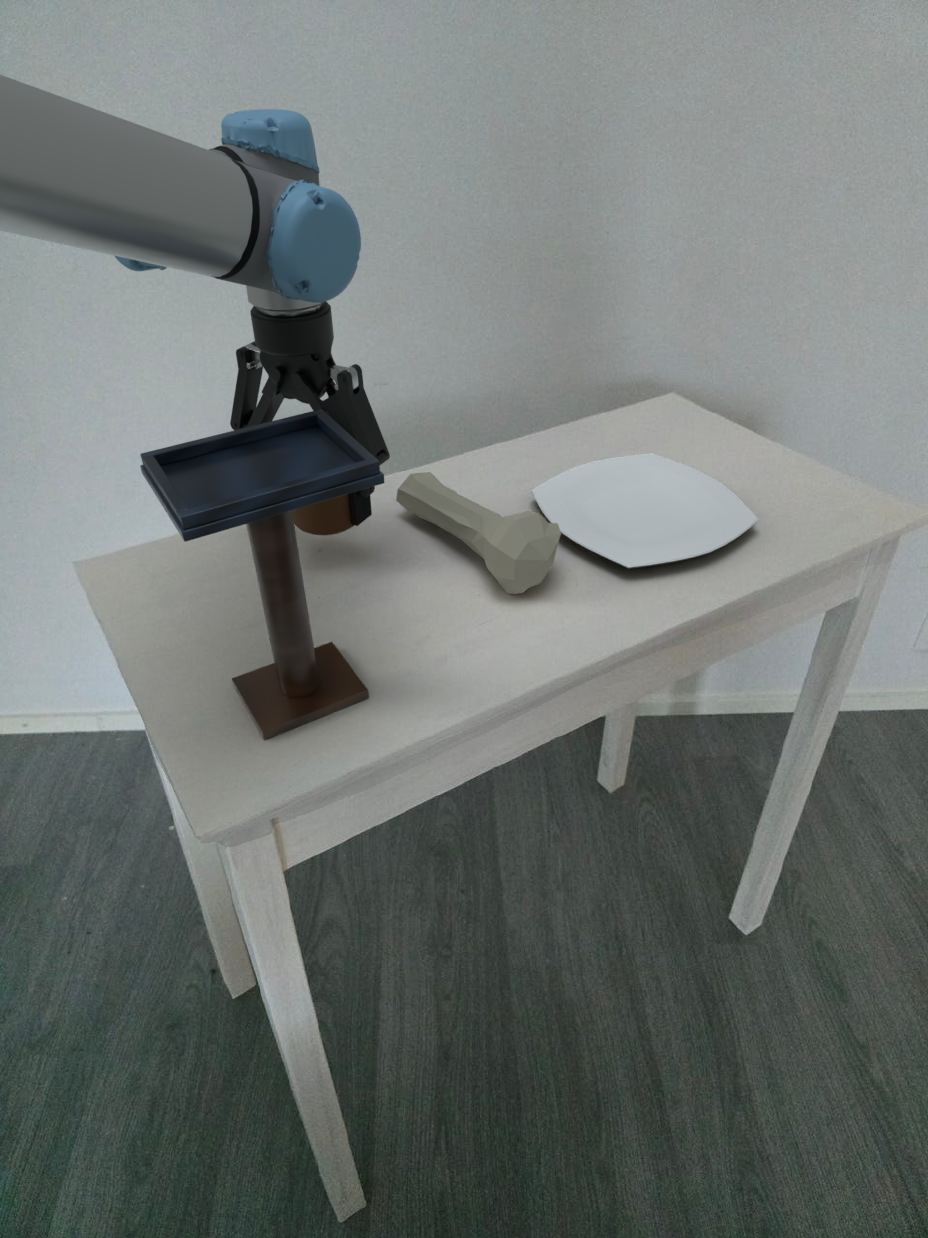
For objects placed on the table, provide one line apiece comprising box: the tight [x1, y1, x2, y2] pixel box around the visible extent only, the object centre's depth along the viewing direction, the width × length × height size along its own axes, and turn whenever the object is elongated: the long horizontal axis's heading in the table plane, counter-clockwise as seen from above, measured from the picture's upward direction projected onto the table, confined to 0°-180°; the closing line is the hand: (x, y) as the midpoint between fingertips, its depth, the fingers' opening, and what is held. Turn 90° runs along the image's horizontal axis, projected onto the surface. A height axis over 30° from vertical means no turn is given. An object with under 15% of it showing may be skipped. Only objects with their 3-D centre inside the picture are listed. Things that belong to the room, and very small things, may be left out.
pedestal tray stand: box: [140, 409, 385, 741], centre depth 69 cm, size 15×11×24 cm
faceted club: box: [396, 471, 562, 595], centre depth 92 cm, size 9×8×25 cm
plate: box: [530, 452, 760, 570], centre depth 98 cm, size 23×23×2 cm
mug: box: [292, 494, 355, 536], centre depth 89 cm, size 12×8×9 cm, turn 41°
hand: (315, 505), depth 92 cm, fingers closed on mug, 12 cm apart
